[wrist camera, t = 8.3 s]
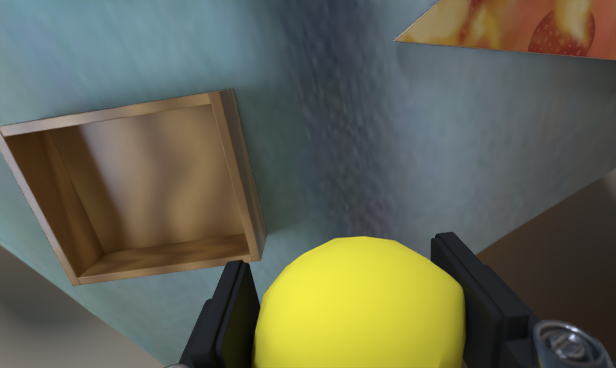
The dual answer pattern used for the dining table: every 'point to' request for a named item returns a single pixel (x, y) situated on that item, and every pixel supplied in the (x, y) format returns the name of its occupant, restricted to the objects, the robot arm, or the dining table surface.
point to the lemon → (361, 310)
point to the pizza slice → (520, 26)
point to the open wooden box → (141, 186)
